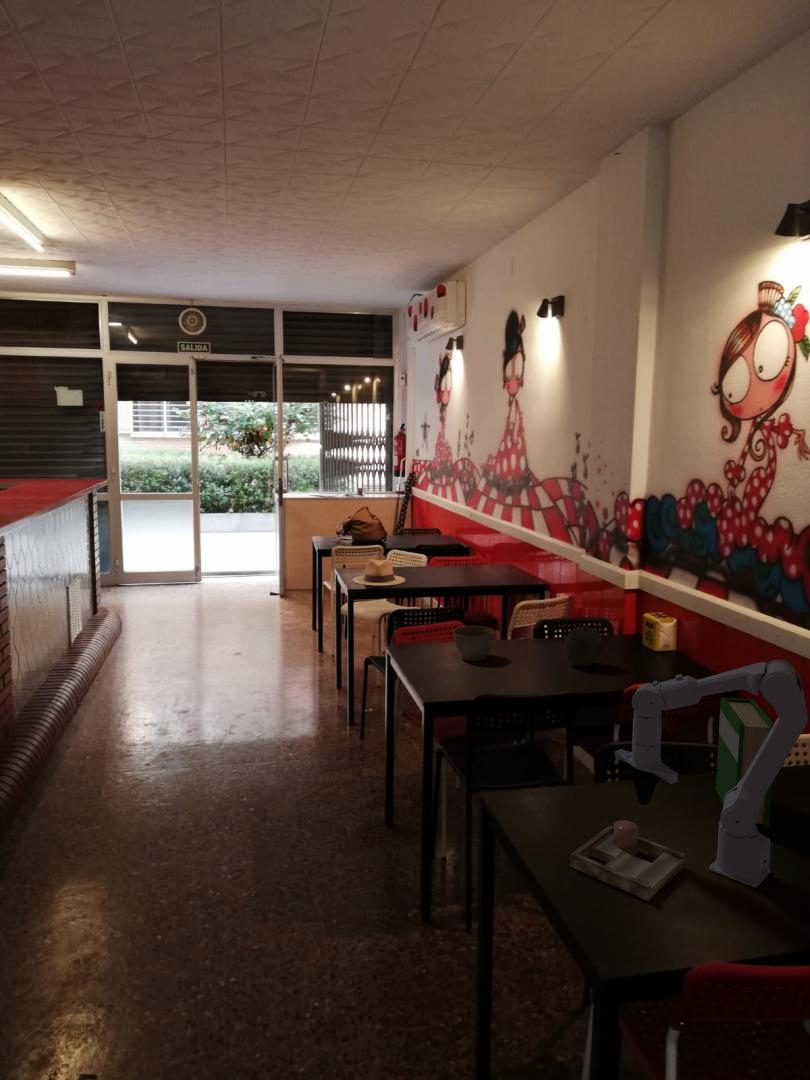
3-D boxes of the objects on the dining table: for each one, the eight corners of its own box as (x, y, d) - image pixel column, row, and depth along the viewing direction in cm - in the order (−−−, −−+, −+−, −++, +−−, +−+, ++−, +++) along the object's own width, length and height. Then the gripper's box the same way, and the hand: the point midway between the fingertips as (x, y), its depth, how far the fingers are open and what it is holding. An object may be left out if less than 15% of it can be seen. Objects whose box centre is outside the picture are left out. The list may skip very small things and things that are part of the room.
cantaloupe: (574, 673, 285) (575, 633, 283) (558, 662, 299) (558, 624, 297) (609, 670, 288) (610, 630, 286) (591, 659, 302) (592, 621, 300)
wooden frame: (684, 866, 158) (685, 854, 158) (647, 901, 147) (648, 887, 146) (609, 837, 170) (609, 825, 170) (570, 866, 158) (570, 853, 158)
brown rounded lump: (642, 848, 162) (643, 830, 161) (621, 852, 160) (622, 833, 160) (629, 836, 166) (630, 819, 166) (608, 839, 165) (609, 822, 164)
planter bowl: (450, 652, 312) (450, 626, 310) (489, 651, 313) (489, 625, 312) (456, 664, 296) (457, 637, 294) (498, 663, 298) (498, 635, 296)
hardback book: (768, 828, 173) (775, 726, 170) (733, 826, 175) (739, 724, 171) (747, 792, 191) (753, 699, 187) (715, 790, 192) (720, 697, 188)
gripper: (688, 748, 158) (685, 811, 160) (631, 726, 170) (629, 785, 172) (665, 756, 154) (663, 821, 156) (609, 733, 166) (607, 793, 168)
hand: (644, 802), depth 164 cm, fingers closed
